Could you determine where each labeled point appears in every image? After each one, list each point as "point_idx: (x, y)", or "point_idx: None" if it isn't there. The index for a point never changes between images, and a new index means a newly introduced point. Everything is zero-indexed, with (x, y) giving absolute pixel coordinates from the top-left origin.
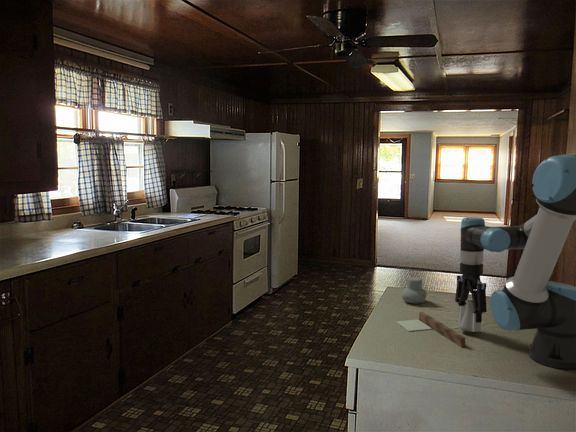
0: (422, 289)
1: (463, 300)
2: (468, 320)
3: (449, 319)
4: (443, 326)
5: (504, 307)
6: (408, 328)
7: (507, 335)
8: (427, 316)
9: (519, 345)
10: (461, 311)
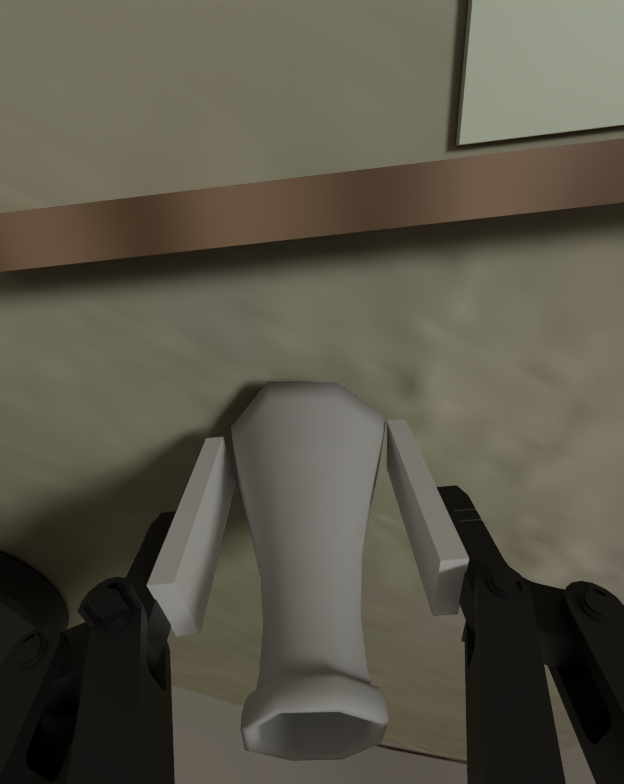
0: None
1: (473, 676)
2: (258, 478)
3: (591, 421)
4: (276, 196)
5: None
6: None
7: (240, 568)
8: None
9: (102, 555)
10: (419, 515)
